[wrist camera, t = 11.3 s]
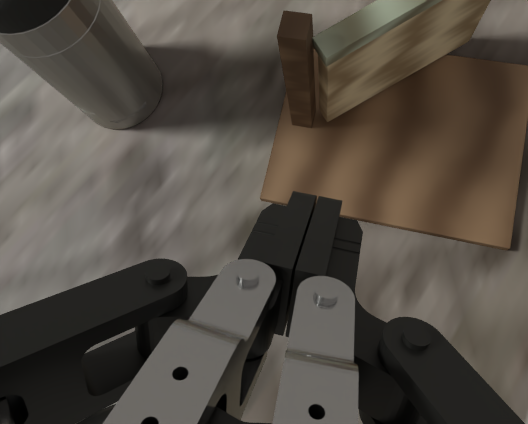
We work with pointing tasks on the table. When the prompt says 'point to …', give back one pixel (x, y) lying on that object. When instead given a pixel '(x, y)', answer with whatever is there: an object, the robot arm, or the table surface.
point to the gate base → (406, 144)
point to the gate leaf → (387, 46)
